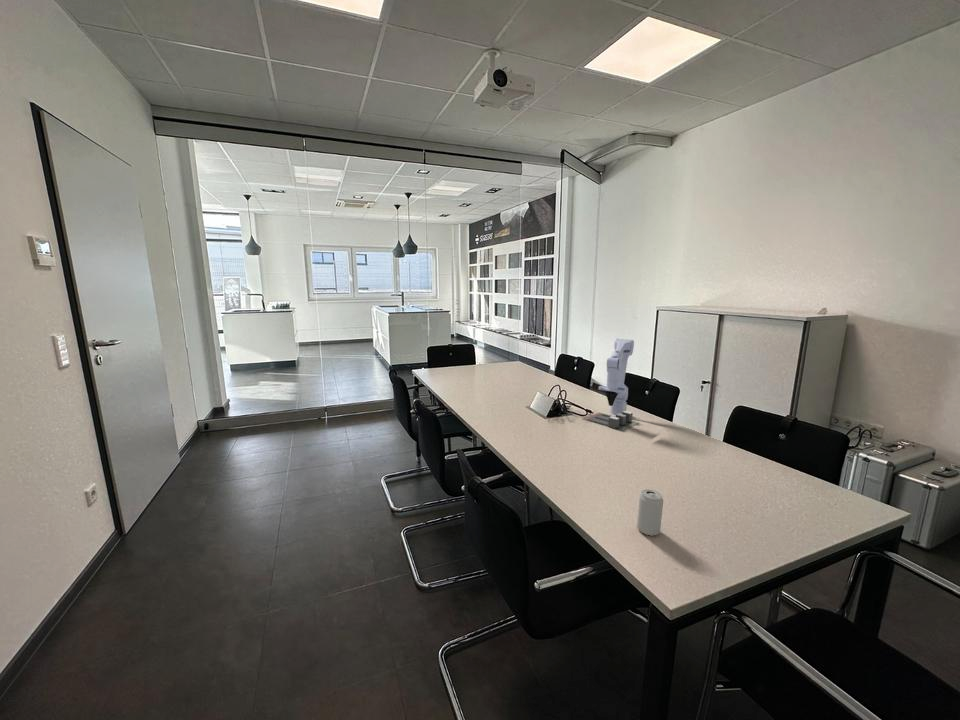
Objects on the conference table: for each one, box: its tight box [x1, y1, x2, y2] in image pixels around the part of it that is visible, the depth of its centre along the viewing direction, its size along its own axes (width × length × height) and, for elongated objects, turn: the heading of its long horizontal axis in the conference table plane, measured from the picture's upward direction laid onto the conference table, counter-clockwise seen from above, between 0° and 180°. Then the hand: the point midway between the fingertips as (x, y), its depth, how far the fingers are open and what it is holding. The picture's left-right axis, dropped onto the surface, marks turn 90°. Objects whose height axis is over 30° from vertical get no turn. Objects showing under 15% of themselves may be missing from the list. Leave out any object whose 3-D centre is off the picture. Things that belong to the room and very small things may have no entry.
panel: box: [581, 412, 640, 432], centre depth 212 cm, size 18×24×2 cm
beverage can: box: [636, 488, 664, 537], centre depth 117 cm, size 6×6×12 cm
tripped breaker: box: [615, 414, 626, 425], centre depth 206 cm, size 4×4×5 cm
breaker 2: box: [622, 410, 634, 422], centre depth 211 cm, size 4×4×5 cm
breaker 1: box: [608, 415, 620, 429], centre depth 202 cm, size 4×4×5 cm
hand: (610, 405), depth 210 cm, fingers closed
